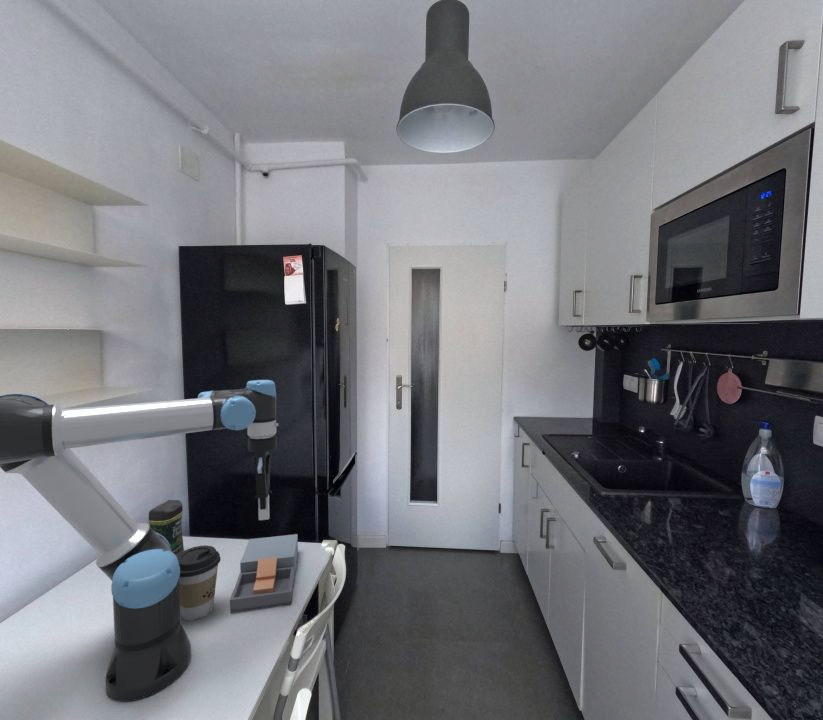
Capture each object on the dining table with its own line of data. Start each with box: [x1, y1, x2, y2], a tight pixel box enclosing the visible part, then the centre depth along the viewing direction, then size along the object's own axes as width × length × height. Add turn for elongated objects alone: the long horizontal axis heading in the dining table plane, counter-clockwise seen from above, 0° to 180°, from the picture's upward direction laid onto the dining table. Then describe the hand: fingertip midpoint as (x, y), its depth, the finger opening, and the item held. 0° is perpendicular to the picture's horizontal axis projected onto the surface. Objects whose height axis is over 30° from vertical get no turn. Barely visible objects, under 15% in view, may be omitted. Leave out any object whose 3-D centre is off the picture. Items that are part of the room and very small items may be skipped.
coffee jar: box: [147, 499, 185, 557], centre depth 125 cm, size 10×8×19 cm
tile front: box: [253, 577, 275, 595], centre depth 108 cm, size 5×5×2 cm
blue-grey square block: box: [239, 533, 299, 577], centre depth 122 cm, size 14×15×6 cm
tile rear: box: [256, 557, 277, 579], centre depth 112 cm, size 5×5×2 cm
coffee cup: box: [177, 545, 222, 621], centre depth 102 cm, size 11×11×15 cm
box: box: [229, 567, 295, 614], centre depth 108 cm, size 12×15×4 cm
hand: (264, 518), depth 110 cm, fingers closed
